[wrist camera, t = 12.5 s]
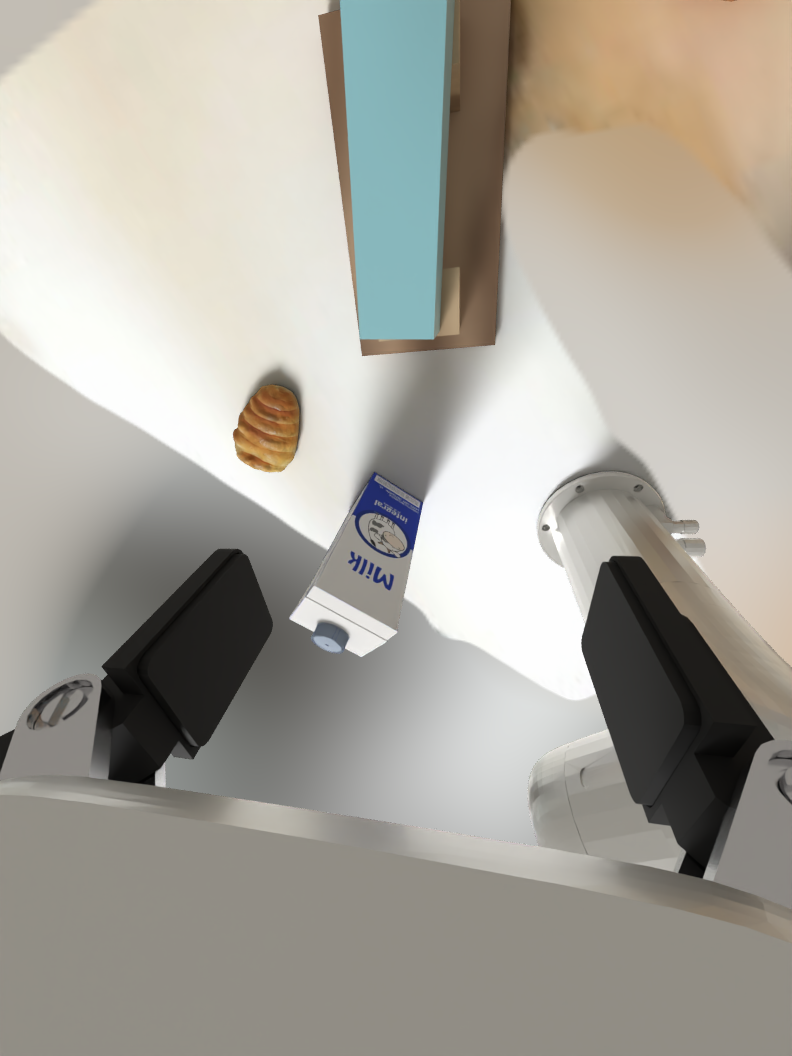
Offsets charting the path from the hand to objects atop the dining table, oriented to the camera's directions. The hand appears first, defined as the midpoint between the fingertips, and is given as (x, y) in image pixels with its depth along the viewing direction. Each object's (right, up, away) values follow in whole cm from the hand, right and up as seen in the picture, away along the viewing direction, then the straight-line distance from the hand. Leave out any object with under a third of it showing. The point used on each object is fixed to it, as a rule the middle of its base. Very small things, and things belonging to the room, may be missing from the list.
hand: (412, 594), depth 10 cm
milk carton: (-2, +4, +34) cm, 34 cm away
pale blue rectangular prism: (0, +23, +13) cm, 26 cm away
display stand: (+2, +27, +19) cm, 33 cm away
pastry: (-14, +13, +31) cm, 37 cm away
